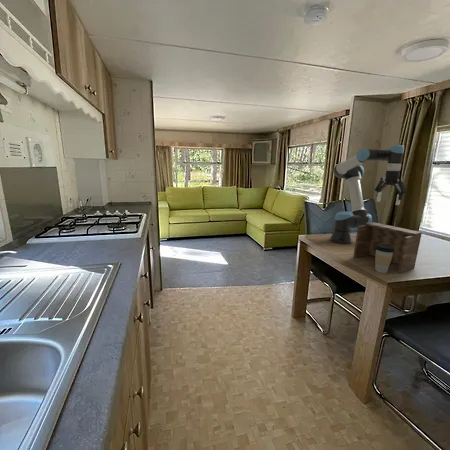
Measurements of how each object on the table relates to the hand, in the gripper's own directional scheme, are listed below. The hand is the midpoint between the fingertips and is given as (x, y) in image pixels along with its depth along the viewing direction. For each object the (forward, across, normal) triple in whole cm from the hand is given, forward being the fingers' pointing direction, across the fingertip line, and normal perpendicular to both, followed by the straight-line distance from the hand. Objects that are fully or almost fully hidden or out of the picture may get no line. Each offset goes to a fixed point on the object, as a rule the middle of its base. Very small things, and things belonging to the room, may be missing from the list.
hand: (387, 203), depth 167 cm
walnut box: (+35, +14, -15) cm, 40 cm away
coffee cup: (+35, +23, -27) cm, 50 cm away
